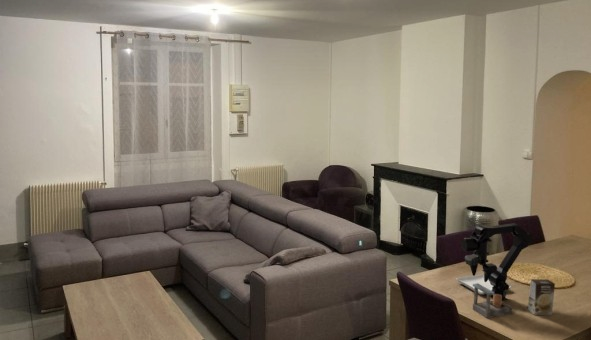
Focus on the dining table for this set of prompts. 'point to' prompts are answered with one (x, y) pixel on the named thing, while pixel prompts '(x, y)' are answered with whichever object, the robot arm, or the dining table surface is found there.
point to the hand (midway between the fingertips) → (479, 278)
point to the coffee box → (541, 297)
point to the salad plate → (475, 282)
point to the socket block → (489, 304)
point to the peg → (497, 300)
